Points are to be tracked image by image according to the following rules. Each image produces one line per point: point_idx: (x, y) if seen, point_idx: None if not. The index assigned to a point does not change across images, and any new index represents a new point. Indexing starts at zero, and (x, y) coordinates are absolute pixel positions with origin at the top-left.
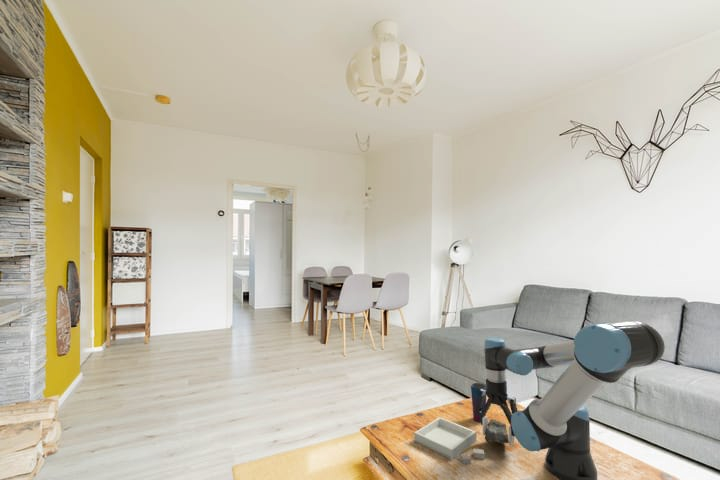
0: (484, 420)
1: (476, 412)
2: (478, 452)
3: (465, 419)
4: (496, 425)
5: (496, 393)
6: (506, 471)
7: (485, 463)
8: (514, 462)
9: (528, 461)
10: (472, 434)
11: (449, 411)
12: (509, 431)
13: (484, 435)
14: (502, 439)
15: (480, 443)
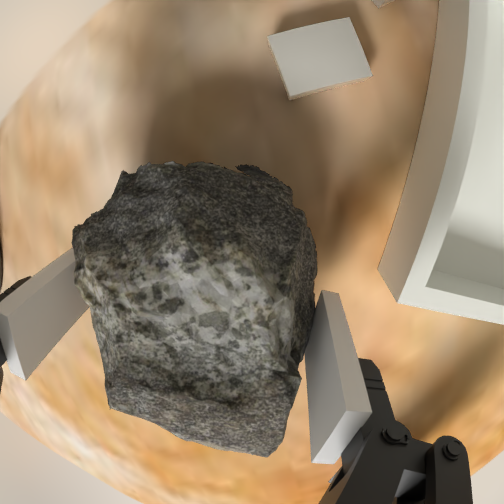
0: (339, 394)
1: (455, 450)
2: (316, 35)
3: (437, 433)
4: (199, 384)
5: None
6: (112, 15)
7: (246, 4)
8: (89, 138)
9: (42, 202)
10: (425, 236)
11: (492, 439)
12: (30, 288)
13: (324, 290)
14: (112, 210)
15: (346, 247)
